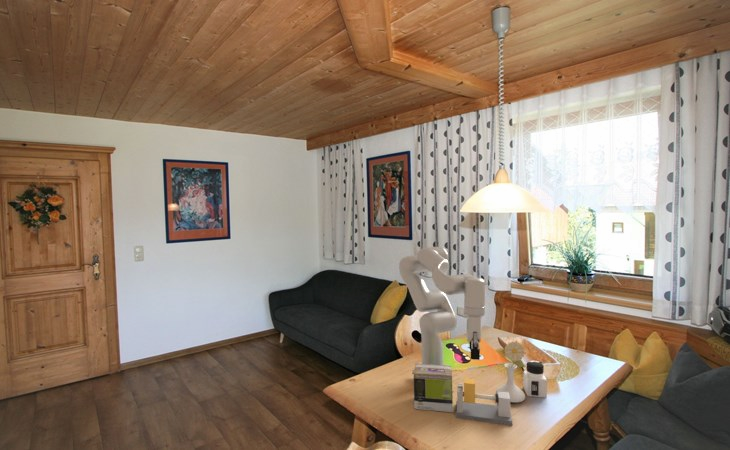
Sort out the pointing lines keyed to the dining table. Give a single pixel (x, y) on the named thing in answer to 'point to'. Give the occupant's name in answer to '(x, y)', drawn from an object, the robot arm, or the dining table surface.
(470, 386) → the sleeve
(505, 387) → the flower in vase
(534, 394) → the container
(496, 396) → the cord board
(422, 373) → the tea box
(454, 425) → the dining table surface
